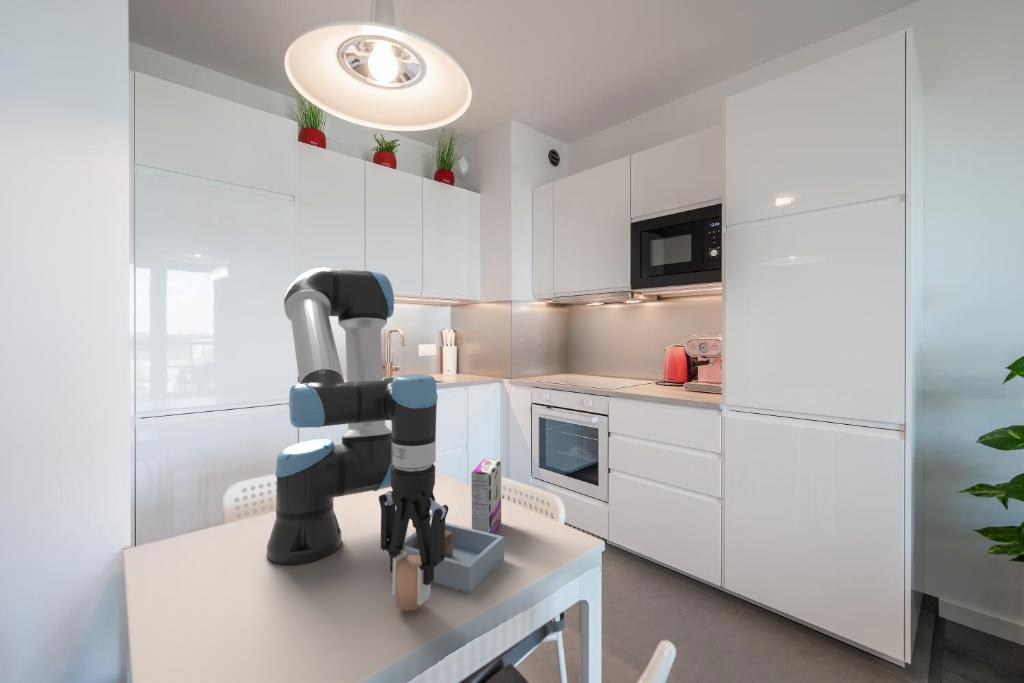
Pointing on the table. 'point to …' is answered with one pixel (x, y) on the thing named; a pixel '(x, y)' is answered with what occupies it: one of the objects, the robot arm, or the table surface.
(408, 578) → the peach rounded cylinder
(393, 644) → the table surface
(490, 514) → the candy bar box
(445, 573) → the tote
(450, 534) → the walnut cube
